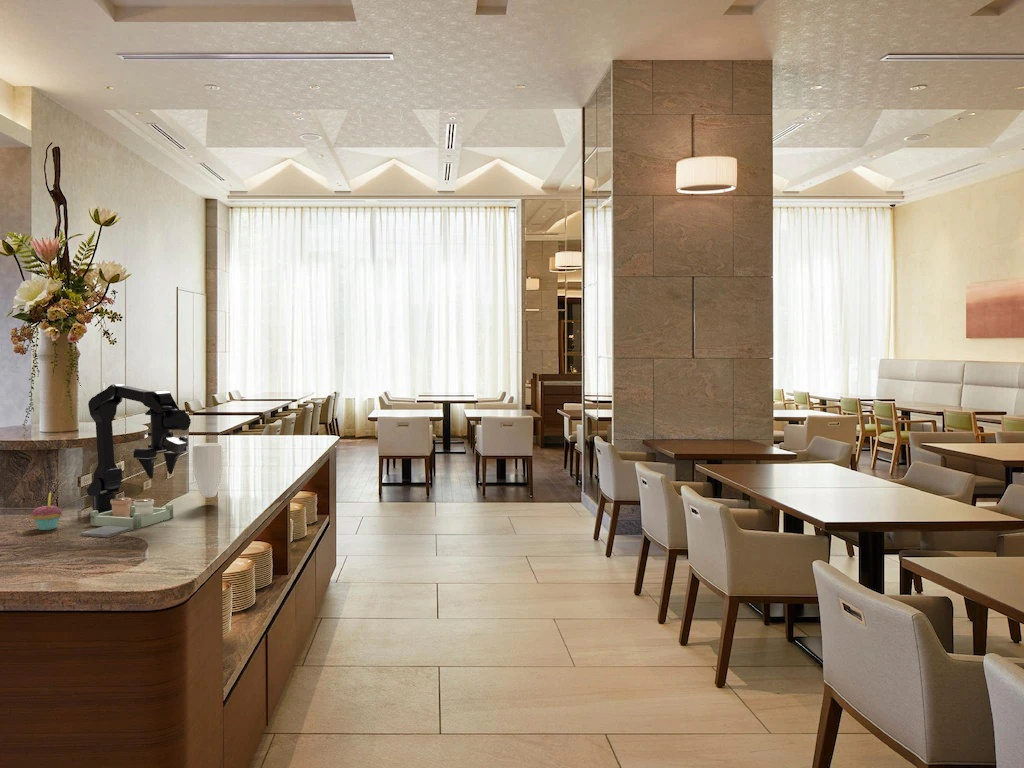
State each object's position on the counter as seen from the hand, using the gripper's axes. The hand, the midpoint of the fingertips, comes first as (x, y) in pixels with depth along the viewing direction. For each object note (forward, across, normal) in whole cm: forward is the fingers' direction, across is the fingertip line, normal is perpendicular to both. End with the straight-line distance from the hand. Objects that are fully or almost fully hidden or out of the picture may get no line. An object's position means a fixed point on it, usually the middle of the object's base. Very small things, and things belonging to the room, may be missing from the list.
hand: (160, 476), depth 262 cm
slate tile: (+14, -23, +1) cm, 27 cm away
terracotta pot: (+14, -8, +9) cm, 18 cm away
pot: (+14, -8, 0) cm, 16 cm away
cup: (+14, +22, -2) cm, 26 cm away
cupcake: (+14, -23, +24) cm, 36 cm away
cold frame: (+14, -8, +4) cm, 16 cm away
